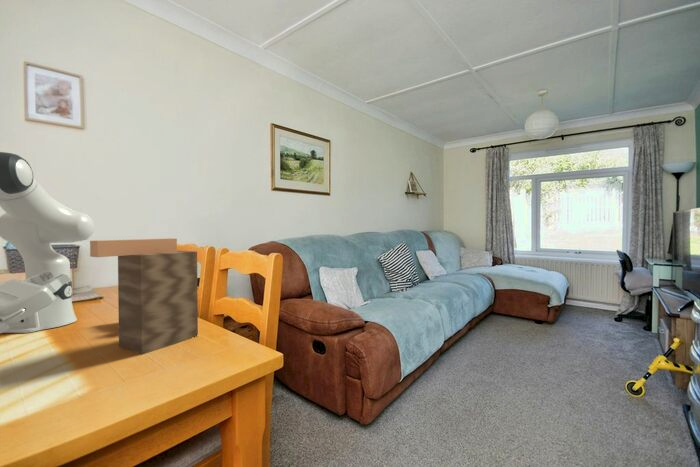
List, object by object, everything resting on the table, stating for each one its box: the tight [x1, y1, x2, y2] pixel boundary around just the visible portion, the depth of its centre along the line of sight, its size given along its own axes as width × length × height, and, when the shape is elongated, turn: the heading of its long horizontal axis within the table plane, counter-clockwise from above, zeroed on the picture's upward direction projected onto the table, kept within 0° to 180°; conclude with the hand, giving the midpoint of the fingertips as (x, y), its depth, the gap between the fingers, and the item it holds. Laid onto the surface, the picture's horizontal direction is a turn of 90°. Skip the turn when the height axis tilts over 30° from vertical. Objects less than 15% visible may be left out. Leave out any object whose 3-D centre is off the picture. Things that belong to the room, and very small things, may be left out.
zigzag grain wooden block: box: [117, 249, 199, 355], centre depth 92 cm, size 16×12×26 cm
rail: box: [89, 237, 178, 258], centre depth 87 cm, size 20×4×4 cm, turn 150°
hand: (58, 274), depth 73 cm, fingers open, 8 cm apart
